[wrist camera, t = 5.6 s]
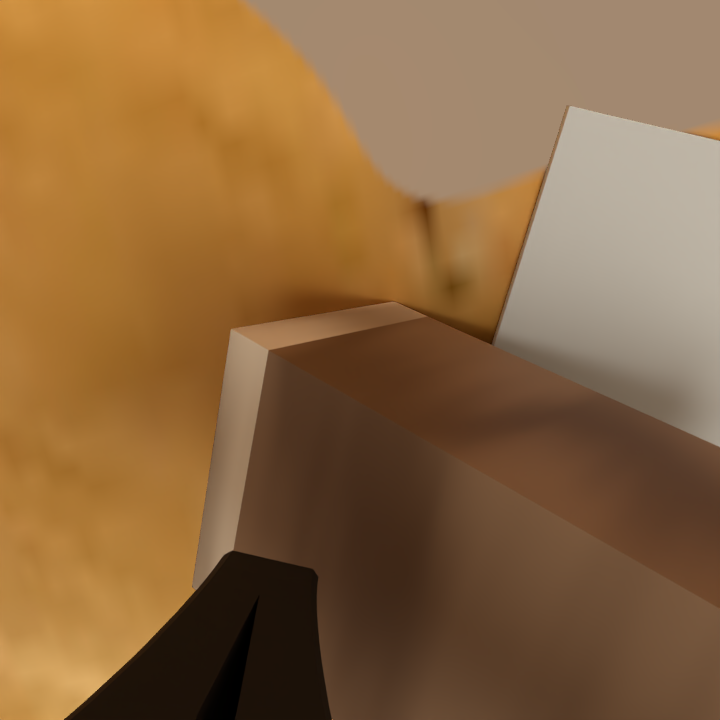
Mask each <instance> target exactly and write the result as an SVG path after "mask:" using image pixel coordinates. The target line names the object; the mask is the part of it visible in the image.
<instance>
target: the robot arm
mask: <svg viewBox="0 0 720 720" xmlns="http://www.w3.org/2000/svg"><path fill="white" fill-rule="evenodd" d="M317 584H318V575H317V574H316V573H315V571H314V570H313V569H311V568H307V567H303V566H298V565H294V564H290V563H285V562H281V561H277V560H272V559H268V558H264V557H259V556H255V555H251V554H246V553H242V552H238V551H233V550H232V551H230V552H228V553H226V554H224V555H223V557H222V558H221V559H220V561H219V562H218V564H217V565H216V566H215V568H214V569H213V570H212V572H211V573H210V574H209V575H208V577H207V578H206V579H205V580H204V582H203V583H202V584H201V585H200V586H199V588H198V589H197V590H196V591H195V592H194V593H193V595H192V596H191V597H190V598H189V599H188V600H187V601H186V602H185V604H184V605H183V606H182V607H181V608H180V609H179V610H178V611H177V612H176V614H175V615H174V616H173V617H172V618H171V619H170V620H169V621H168V622H167V623H166V624H165V625H164V626H163V627H162V628H161V629H160V630H159V631H158V632H157V633H156V634H155V635H154V636H153V637H152V638H151V639H150V640H149V642H148V643H147V644H146V645H145V646H144V647H143V648H142V649H141V650H140V651H139V652H138V653H137V654H136V655H135V656H134V657H133V658H132V659H130V660H129V661H128V662H127V663H126V664H125V665H124V666H123V667H122V668H121V669H120V670H119V671H117V672H116V673H115V674H114V675H113V676H112V677H111V678H110V679H109V680H108V681H107V682H106V683H105V684H103V685H102V686H101V687H100V688H99V689H98V690H97V691H96V692H95V693H94V694H93V695H92V696H90V697H89V698H88V699H87V700H86V701H85V702H84V703H83V704H82V705H80V706H79V707H78V708H77V709H76V710H75V711H73V712H72V713H71V714H70V715H69V716H68V717H66V718H65V719H64V720H332V718H331V713H330V708H329V703H328V696H327V690H326V684H325V678H324V672H323V666H322V659H321V651H320V643H319V632H318V619H317Z"/></svg>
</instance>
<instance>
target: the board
mask: <svg viewBox="0 0 720 720" xmlns="http://www.w3.org/2000/svg"><path fill="white" fill-rule="evenodd" d="M492 345H493V346H495V347H497V348H500V349H502V350H504V351H506V352H508V353H511V354H513V355H515V356H517V357H520V358H522V359H524V360H526V361H529V362H531V363H533V364H535V365H538V366H540V367H542V368H544V369H546V370H549V371H551V372H553V373H555V374H558V375H560V376H562V377H564V378H567V379H569V380H571V381H573V382H576V383H578V384H580V385H582V386H584V387H587V388H589V389H591V390H593V391H596V392H598V393H600V394H602V395H605V396H607V397H609V398H611V399H614V400H616V401H618V402H620V403H623V404H625V405H627V406H629V407H631V408H634V409H636V410H638V411H640V412H643V413H645V414H647V415H649V416H652V417H654V418H656V419H658V420H661V421H663V422H665V423H667V424H669V425H672V426H674V427H676V428H678V429H681V430H683V431H685V432H687V433H690V434H692V435H694V436H696V437H699V438H701V439H703V440H705V441H708V442H710V443H712V444H714V445H716V446H719V447H720V141H718V140H714V139H710V138H705V137H701V136H697V135H693V134H688V133H684V132H680V131H676V130H671V129H667V128H663V127H659V126H654V125H650V124H646V123H641V122H637V121H633V120H629V119H624V118H620V117H616V116H612V115H608V114H603V113H599V112H595V111H590V110H586V109H582V108H578V107H573V106H567V107H566V110H565V113H564V116H563V119H562V123H561V126H560V129H559V132H558V135H557V138H556V141H555V145H554V148H553V151H552V154H551V157H550V161H549V164H548V167H547V170H546V173H545V176H544V180H543V183H542V186H541V189H540V192H539V195H538V199H537V202H536V205H535V208H534V211H533V215H532V218H531V221H530V224H529V227H528V230H527V234H526V237H525V240H524V243H523V246H522V250H521V253H520V256H519V259H518V262H517V265H516V269H515V272H514V275H513V278H512V281H511V285H510V288H509V291H508V294H507V297H506V300H505V304H504V307H503V310H502V313H501V316H500V319H499V323H498V326H497V329H496V332H495V335H494V339H493V342H492Z"/></svg>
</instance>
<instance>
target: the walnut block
mask: <svg viewBox="0 0 720 720" xmlns="http://www.w3.org/2000/svg"><path fill="white" fill-rule="evenodd" d="M232 550H233V551H238V552H242V553H246V554H251V555H255V556H259V557H264V558H268V559H272V560H277V561H281V562H285V563H290V564H294V565H298V566H303V567H307V568H311V569H313V570H314V571H315V573H316V574H317V575H318V584H317V619H318V632H319V643H320V651H321V659H322V666H323V672H324V678H325V684H326V690H327V696H328V703H329V708H330V713H331V718H332V719H333V720H720V447H719V446H716V445H714V444H712V443H710V442H708V441H705V440H703V439H701V438H699V437H696V436H694V435H692V434H690V433H687V432H685V431H683V430H681V429H678V428H676V427H674V426H672V425H669V424H667V423H665V422H663V421H661V420H658V419H656V418H654V417H652V416H649V415H647V414H645V413H643V412H640V411H638V410H636V409H634V408H631V407H629V406H627V405H625V404H623V403H620V402H618V401H616V400H614V399H611V398H609V397H607V396H605V395H602V394H600V393H598V392H596V391H593V390H591V389H589V388H587V387H584V386H582V385H580V384H578V383H576V382H573V381H571V380H569V379H567V378H564V377H562V376H560V375H558V374H555V373H553V372H551V371H549V370H546V369H544V368H542V367H540V366H538V365H535V364H533V363H531V362H529V361H526V360H524V359H522V358H520V357H517V356H515V355H513V354H511V353H508V352H506V351H504V350H502V349H500V348H497V347H495V346H493V345H491V344H488V343H486V342H484V341H482V340H479V339H477V338H475V337H473V336H470V335H468V334H466V333H464V332H461V331H459V330H457V329H455V328H453V327H450V326H448V325H446V324H444V323H441V322H439V321H437V320H435V319H432V318H430V317H428V316H426V315H423V314H421V313H419V312H417V311H415V310H412V309H410V308H408V307H406V306H403V305H401V304H399V303H397V302H394V301H393V302H387V303H381V304H375V305H369V306H363V307H357V308H351V309H345V310H339V311H333V312H328V313H322V314H316V315H310V316H304V317H298V318H292V319H286V320H280V321H274V322H268V323H262V324H256V325H250V326H244V327H239V328H233V329H231V332H230V339H229V346H228V352H227V359H226V365H225V372H224V379H223V385H222V392H221V399H220V405H219V412H218V418H217V425H216V432H215V438H214V445H213V452H212V458H211V465H210V472H209V478H208V485H207V491H206V498H205V505H204V511H203V518H202V525H201V531H200V538H199V544H198V551H197V558H196V564H195V571H194V578H193V584H192V587H193V588H194V589H195V590H197V589H198V588H199V586H200V585H201V584H202V583H203V582H204V580H205V579H206V578H207V577H208V575H209V574H210V573H211V572H212V570H213V569H214V568H215V566H216V565H217V564H218V562H219V561H220V559H221V558H222V557H223V555H224V554H226V553H228V552H230V551H232Z"/></svg>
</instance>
